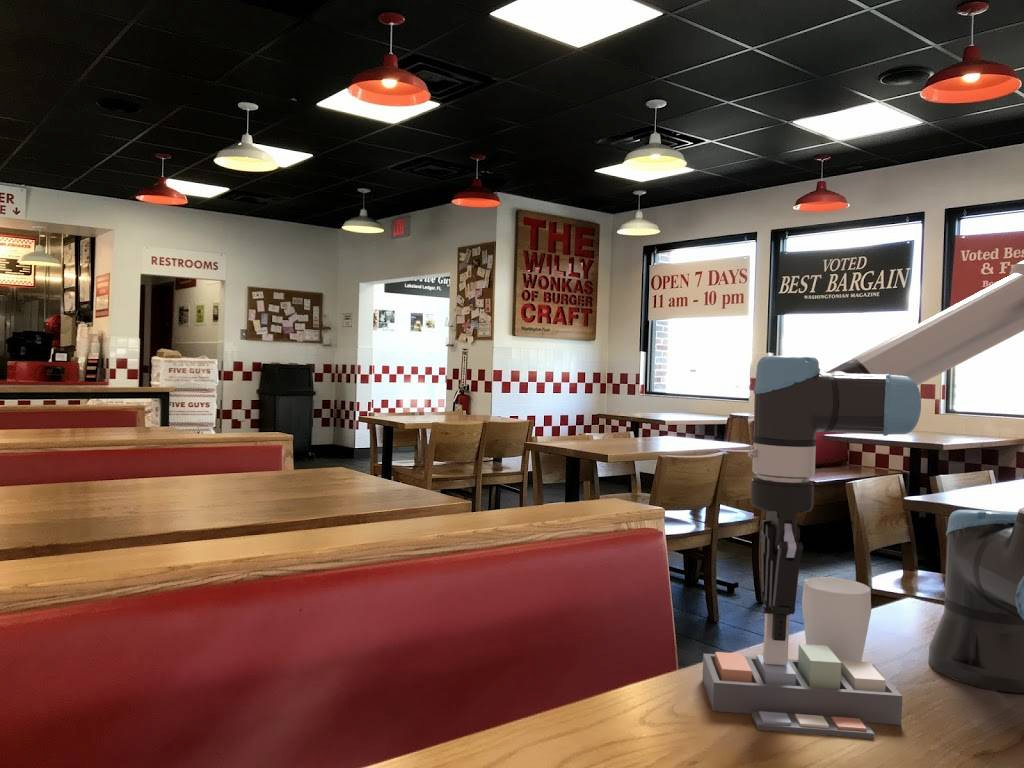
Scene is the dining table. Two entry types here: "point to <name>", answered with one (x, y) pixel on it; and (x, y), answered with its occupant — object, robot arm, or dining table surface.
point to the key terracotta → (732, 667)
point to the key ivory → (862, 676)
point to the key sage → (819, 666)
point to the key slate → (775, 673)
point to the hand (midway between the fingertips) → (775, 662)
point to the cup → (837, 615)
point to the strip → (812, 724)
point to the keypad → (800, 697)
